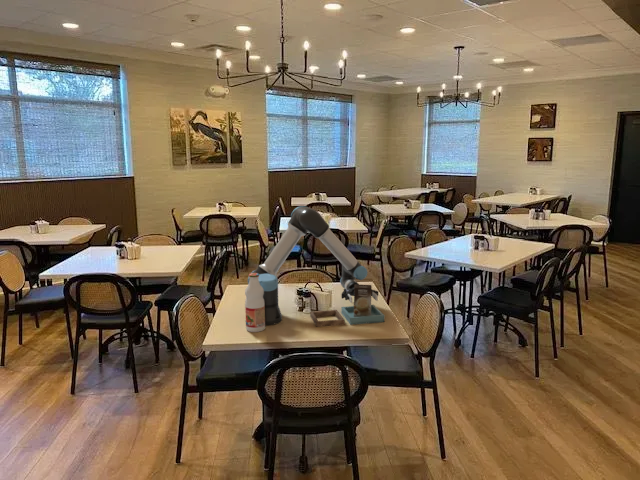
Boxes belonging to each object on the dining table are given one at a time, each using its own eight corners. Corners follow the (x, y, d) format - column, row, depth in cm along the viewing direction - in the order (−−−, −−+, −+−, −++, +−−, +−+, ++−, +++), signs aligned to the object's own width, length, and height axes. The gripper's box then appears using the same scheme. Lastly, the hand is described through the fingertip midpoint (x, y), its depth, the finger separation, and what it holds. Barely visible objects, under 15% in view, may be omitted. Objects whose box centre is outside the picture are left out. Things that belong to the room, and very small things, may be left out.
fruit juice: (265, 332, 242) (263, 276, 236) (245, 332, 241) (243, 276, 236) (265, 325, 251) (263, 271, 246) (246, 326, 250) (244, 271, 245)
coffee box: (353, 317, 258) (353, 287, 255) (353, 313, 264) (353, 284, 261) (371, 317, 257) (371, 288, 254) (371, 313, 264) (371, 284, 261)
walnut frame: (316, 326, 248) (316, 322, 247) (310, 316, 264) (310, 311, 263) (344, 324, 251) (344, 319, 250) (336, 314, 266) (336, 309, 266)
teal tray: (350, 324, 251) (350, 318, 250) (341, 313, 268) (341, 307, 267) (384, 321, 254) (384, 315, 254) (373, 310, 272) (373, 304, 271)
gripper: (374, 292, 280) (387, 304, 259) (331, 295, 274) (340, 307, 254) (374, 279, 278) (387, 290, 258) (331, 282, 273) (340, 293, 253)
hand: (364, 299), depth 256 cm, fingers open, 13 cm apart
